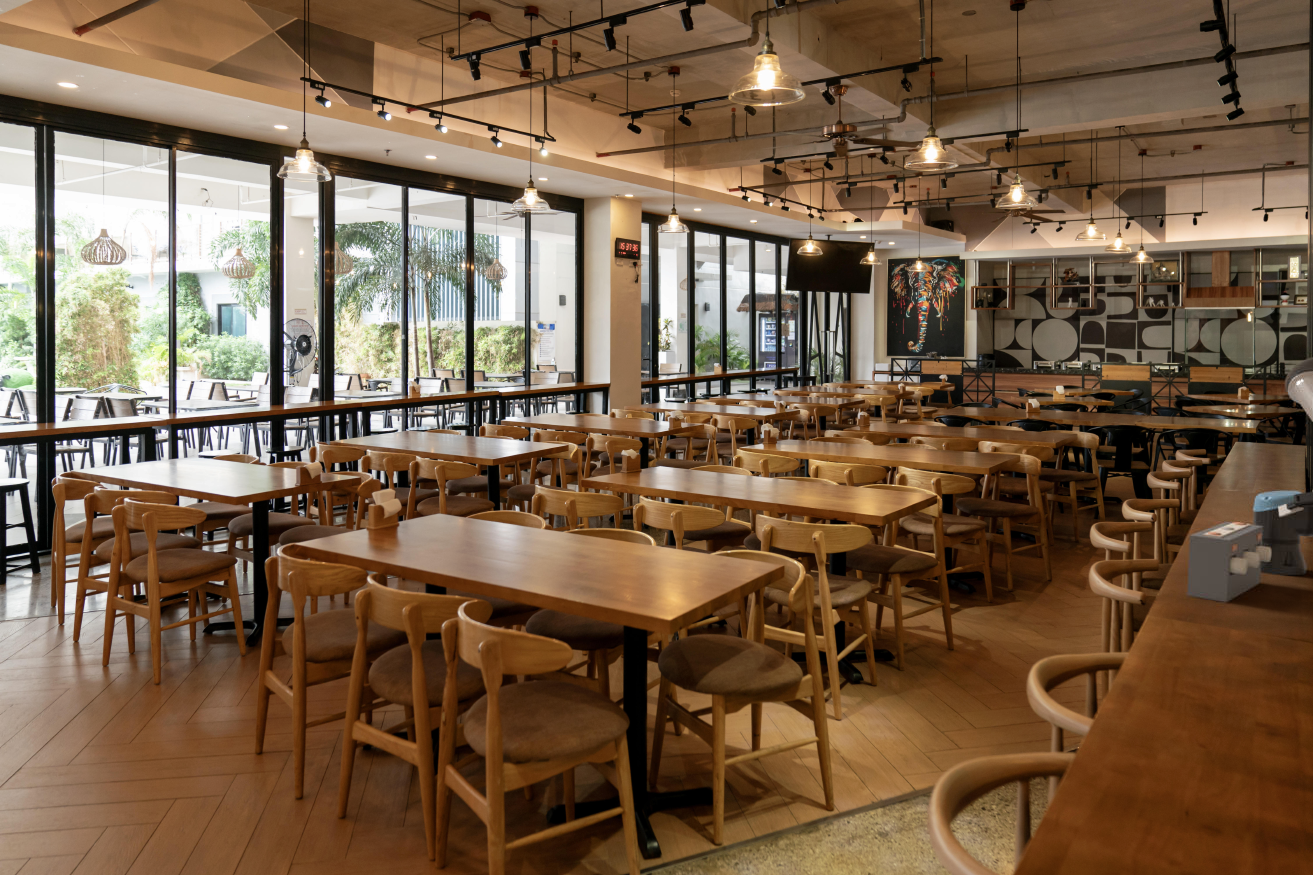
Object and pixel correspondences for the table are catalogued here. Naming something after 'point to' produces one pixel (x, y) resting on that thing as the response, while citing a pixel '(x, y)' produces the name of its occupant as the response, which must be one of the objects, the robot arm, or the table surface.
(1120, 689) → the table surface
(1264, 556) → the button
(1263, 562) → the robot arm
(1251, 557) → the button middle
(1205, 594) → the button panel
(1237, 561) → the button
